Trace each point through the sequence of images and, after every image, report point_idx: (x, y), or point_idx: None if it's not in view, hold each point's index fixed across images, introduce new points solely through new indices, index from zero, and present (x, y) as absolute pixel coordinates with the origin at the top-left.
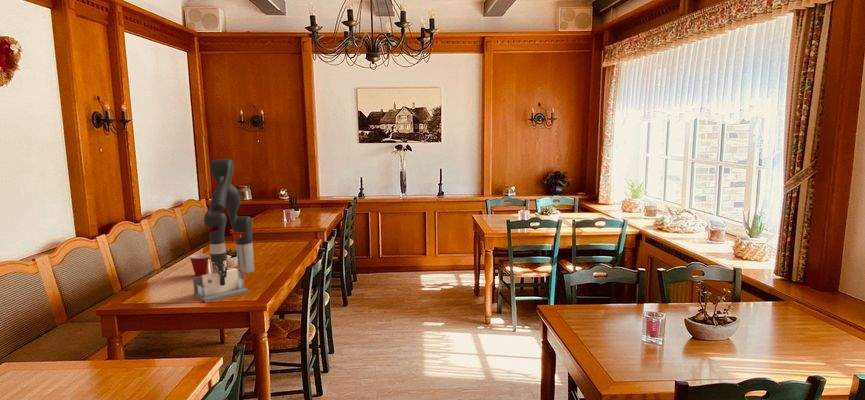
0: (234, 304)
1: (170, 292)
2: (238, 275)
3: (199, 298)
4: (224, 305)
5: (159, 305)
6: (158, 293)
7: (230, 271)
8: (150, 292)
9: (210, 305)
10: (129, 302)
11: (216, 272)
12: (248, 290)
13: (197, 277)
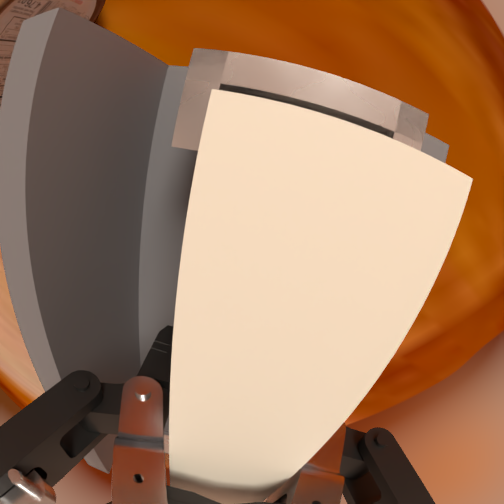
0: (478, 347)
1: (26, 362)
2: (53, 7)
3: None
4: (441, 379)
5: (167, 458)
6: (23, 377)
7: (353, 393)
8: (6, 373)
9: (374, 412)
10: None
11: (185, 489)
12: (444, 148)
13: (102, 464)
